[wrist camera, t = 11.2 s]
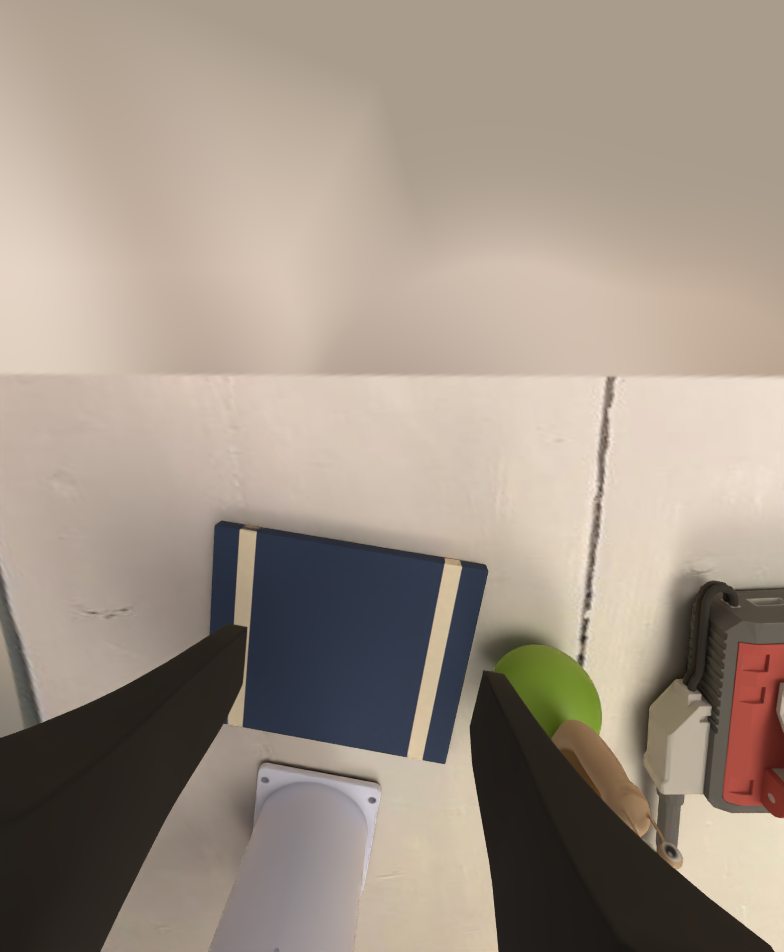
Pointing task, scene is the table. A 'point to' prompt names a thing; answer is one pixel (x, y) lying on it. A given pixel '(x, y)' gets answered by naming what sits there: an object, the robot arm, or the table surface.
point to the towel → (346, 638)
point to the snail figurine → (579, 730)
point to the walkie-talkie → (723, 710)
